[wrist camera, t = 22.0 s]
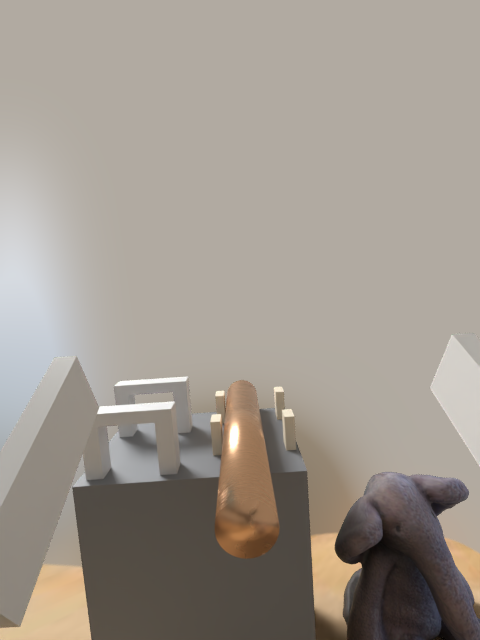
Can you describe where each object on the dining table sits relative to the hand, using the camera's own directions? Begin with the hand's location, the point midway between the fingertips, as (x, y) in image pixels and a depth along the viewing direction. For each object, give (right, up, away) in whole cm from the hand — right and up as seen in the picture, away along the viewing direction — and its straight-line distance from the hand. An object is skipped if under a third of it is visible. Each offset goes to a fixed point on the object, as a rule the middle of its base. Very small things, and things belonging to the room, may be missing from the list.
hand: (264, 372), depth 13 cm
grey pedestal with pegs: (-3, -39, +29) cm, 49 cm away
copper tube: (0, -11, +22) cm, 25 cm away
